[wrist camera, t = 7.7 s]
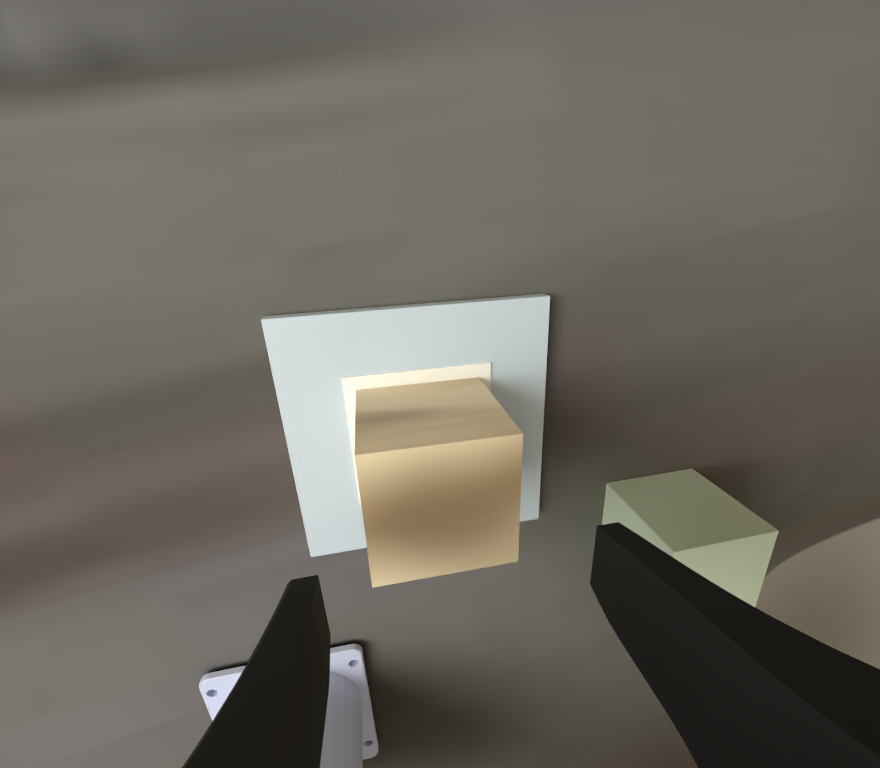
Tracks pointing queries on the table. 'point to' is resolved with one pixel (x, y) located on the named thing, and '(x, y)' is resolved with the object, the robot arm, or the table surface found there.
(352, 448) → the board
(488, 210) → the table surface
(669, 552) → the sage block
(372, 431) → the maple block
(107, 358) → the table surface
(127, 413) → the table surface
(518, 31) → the table surface
